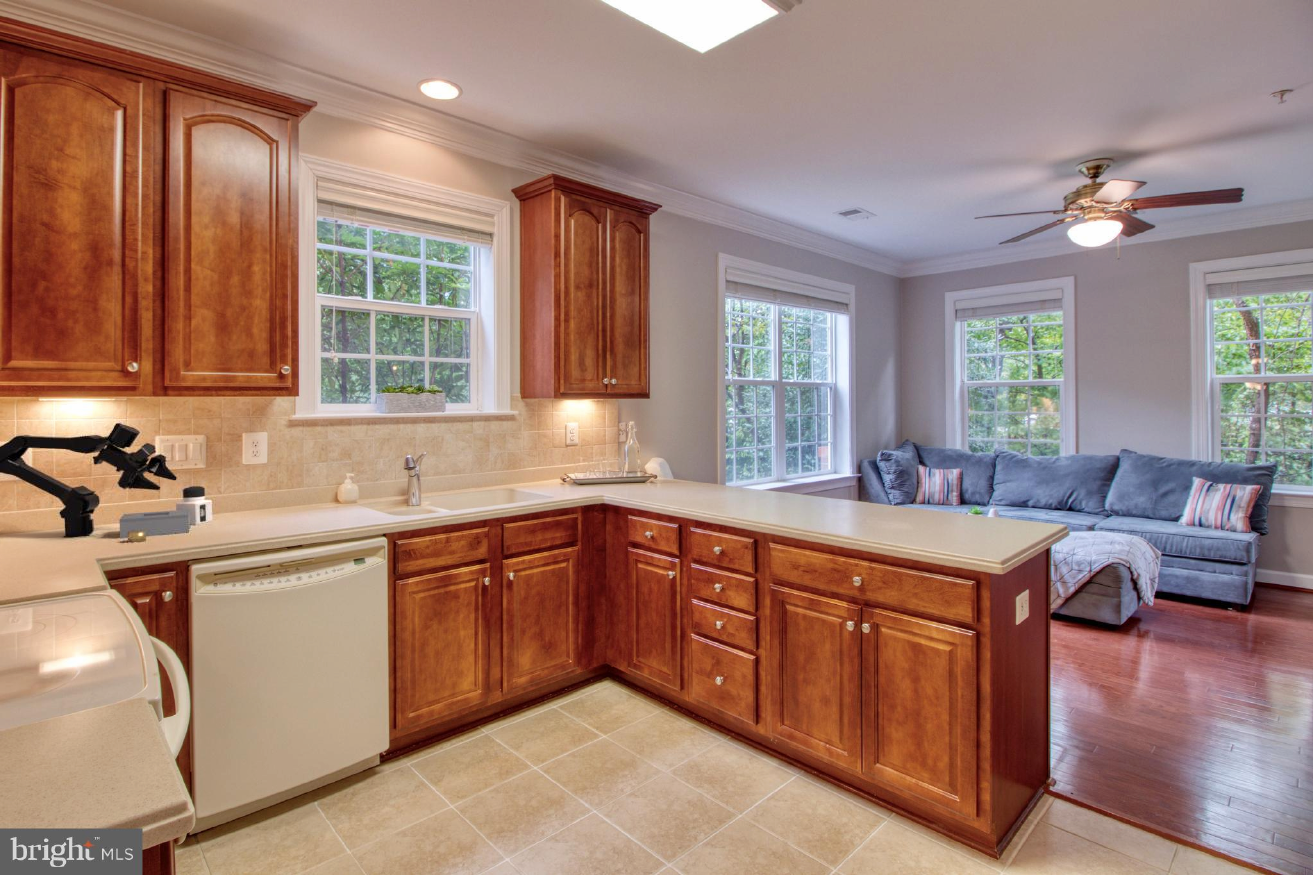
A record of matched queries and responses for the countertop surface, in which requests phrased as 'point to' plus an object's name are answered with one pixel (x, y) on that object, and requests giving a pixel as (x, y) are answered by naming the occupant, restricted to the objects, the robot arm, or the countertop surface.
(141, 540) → the gold short cylinder
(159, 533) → the box
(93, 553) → the countertop surface
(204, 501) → the container
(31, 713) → the countertop surface
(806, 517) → the countertop surface
